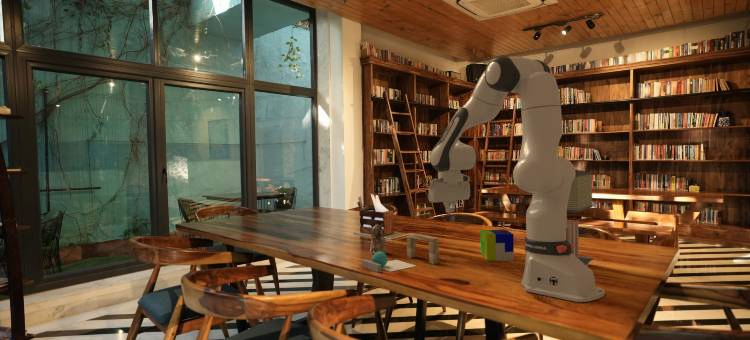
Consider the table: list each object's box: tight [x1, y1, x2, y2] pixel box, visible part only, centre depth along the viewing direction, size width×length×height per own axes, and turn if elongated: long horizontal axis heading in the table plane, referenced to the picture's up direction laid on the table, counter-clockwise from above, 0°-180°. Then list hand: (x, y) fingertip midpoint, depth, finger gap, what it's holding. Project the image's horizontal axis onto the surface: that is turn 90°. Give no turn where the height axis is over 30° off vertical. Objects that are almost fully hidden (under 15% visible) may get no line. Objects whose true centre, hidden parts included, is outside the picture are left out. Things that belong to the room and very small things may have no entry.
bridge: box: [406, 232, 440, 265], centre depth 161 cm, size 3×15×9 cm, turn 35°
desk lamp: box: [566, 172, 594, 267], centre depth 147 cm, size 18×14×33 cm
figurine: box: [369, 223, 388, 255], centre depth 174 cm, size 7×7×12 cm
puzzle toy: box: [480, 229, 515, 262], centre depth 163 cm, size 10×10×10 cm
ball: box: [371, 251, 389, 267], centre depth 151 cm, size 6×6×6 cm
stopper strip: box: [361, 258, 382, 273], centre depth 148 cm, size 10×2×2 cm, turn 35°
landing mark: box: [381, 259, 417, 273], centre depth 153 cm, size 12×12×1 cm
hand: (449, 212), depth 169 cm, fingers closed
